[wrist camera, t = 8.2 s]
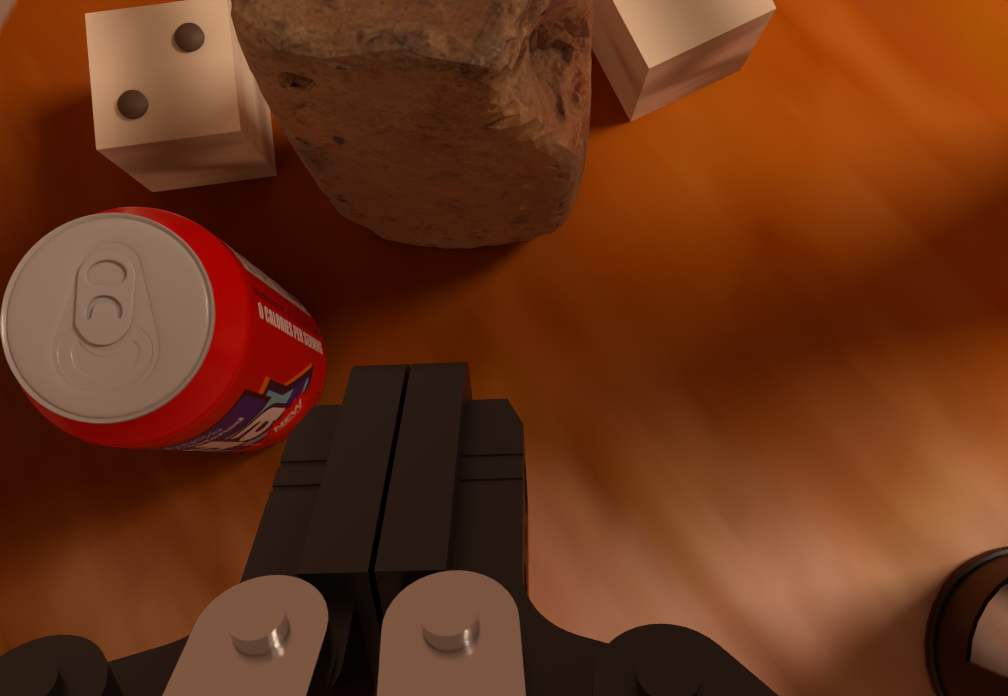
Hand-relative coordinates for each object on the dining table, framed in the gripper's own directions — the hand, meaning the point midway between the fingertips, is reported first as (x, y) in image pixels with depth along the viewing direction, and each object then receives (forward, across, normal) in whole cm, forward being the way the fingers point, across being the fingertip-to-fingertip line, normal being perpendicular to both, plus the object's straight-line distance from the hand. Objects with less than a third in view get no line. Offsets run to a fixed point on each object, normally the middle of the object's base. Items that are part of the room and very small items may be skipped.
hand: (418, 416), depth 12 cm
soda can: (+24, +12, +16) cm, 32 cm away
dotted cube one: (+35, -8, +6) cm, 37 cm away
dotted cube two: (+32, +14, +7) cm, 36 cm away
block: (+31, +2, +10) cm, 32 cm away
